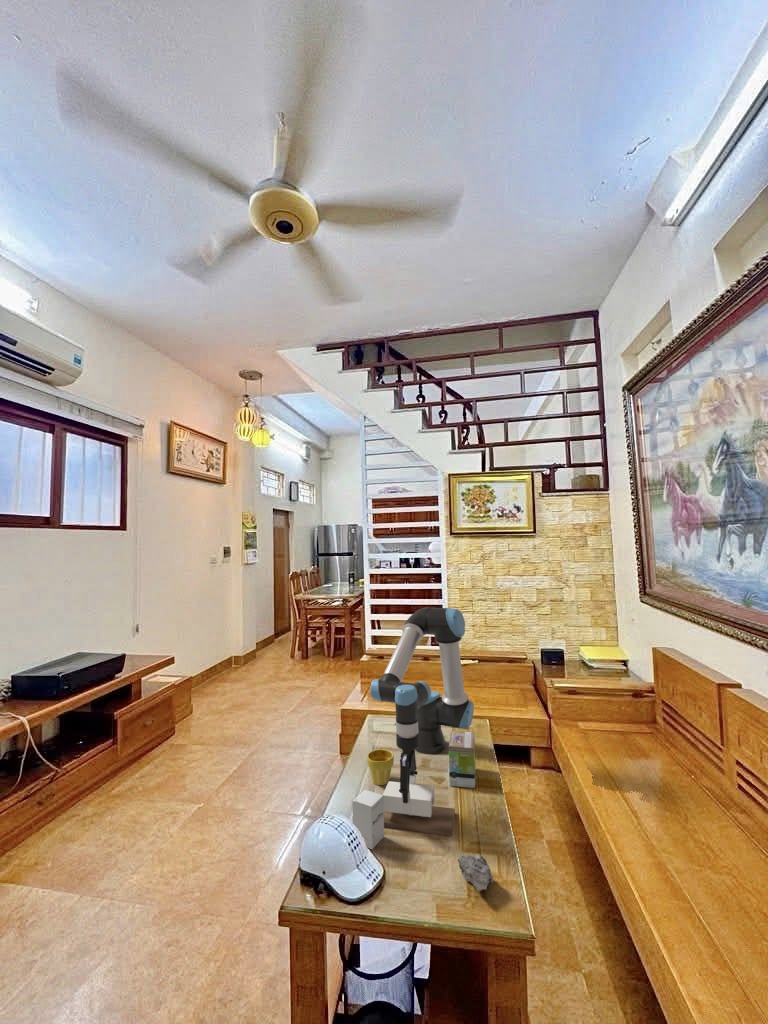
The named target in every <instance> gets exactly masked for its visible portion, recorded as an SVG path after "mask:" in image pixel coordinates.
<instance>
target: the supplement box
mask: <svg viewBox="0 0 768 1024" xmlns="http://www.w3.org/2000/svg"><path fill="white" fill-rule="evenodd" d="M351 801H352V825H353V824H354V825H355V826H356V827H357V828H358V829H359V831H360V832H361V834H362V835H363V837H364V839H365V841H366V843H367V844H368V846H369V848H370V849H372V850H373V849H374V848H375V847H376V846H377V845H378V843H380V841H381V840H383V838H384V837H385V827H384V803H383V794H380V793H378V792H374V791H371V790H368V789H365V790H362V792H361V793H359V795H357V796H356V797H355V798H354V799H353V800H351ZM370 849H369V850H370Z"/></svg>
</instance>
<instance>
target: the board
mask: <svg viewBox="0 0 768 1024" xmlns="http://www.w3.org/2000/svg"><path fill="white" fill-rule="evenodd" d="M455 815H456V808H454V807H453V808H452V807H444V806H436V805H432V815H431V817H425V816H417V815H409V814H401V813H393V812H385V811H384V828H388V829H396V830H404V831H410V832H419V833H426V834H434V835H441V836H450V837H452V835H453V830H454V829H453V828H454V822H455Z"/></svg>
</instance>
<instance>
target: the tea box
mask: <svg viewBox="0 0 768 1024" xmlns="http://www.w3.org/2000/svg"><path fill="white" fill-rule="evenodd" d="M475 740H476V739H475V732H473V731H457V730H450V733H449V742H448V775H449V776H448V777H449V779H448V781H449V782H448V783H449V784H448V785H449V786H451V787H458V788H459V787H461V788H470V789H471V788H473V789H475V787H476V746H475V745H476V741H475Z"/></svg>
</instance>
